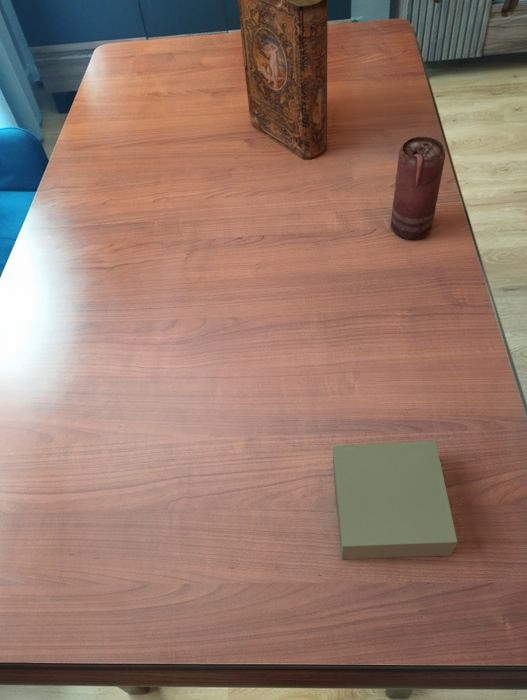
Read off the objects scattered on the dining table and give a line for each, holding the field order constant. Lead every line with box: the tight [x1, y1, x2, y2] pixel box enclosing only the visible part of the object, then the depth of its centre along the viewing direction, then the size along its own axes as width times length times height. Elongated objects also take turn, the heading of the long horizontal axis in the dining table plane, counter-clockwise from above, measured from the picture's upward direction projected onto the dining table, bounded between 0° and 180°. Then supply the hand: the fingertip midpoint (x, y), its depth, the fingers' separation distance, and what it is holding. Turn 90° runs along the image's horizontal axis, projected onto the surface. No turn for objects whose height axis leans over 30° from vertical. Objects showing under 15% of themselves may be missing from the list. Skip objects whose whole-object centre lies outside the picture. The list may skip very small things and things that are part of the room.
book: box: [237, 0, 329, 161], centre depth 97 cm, size 16×6×25 cm, turn 39°
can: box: [390, 136, 446, 241], centre depth 84 cm, size 6×6×14 cm
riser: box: [332, 440, 458, 560], centre depth 61 cm, size 11×11×4 cm
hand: (469, 7), depth 72 cm, fingers open, 8 cm apart
